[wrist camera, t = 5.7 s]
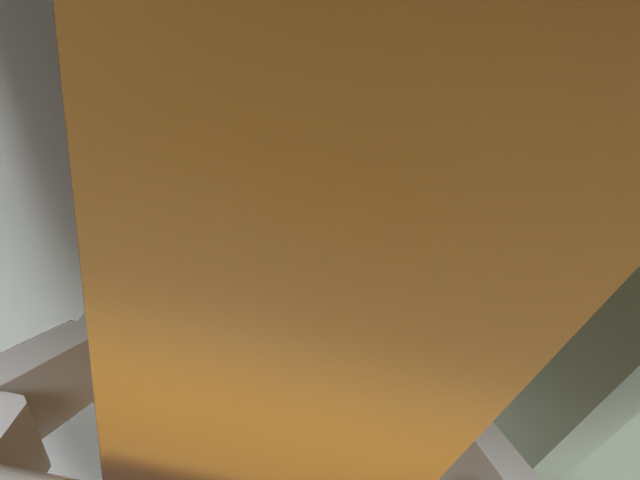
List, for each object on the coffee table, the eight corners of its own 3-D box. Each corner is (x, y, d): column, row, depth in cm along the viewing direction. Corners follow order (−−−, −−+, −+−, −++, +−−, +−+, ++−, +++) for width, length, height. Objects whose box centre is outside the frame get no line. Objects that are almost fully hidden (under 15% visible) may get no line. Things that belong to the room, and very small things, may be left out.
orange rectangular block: (202, 332, 14) (109, 541, 9) (278, -204, 6) (-12, -632, 2) (347, 370, 14) (332, 592, 9) (578, -101, 7) (1078, -204, 2)
